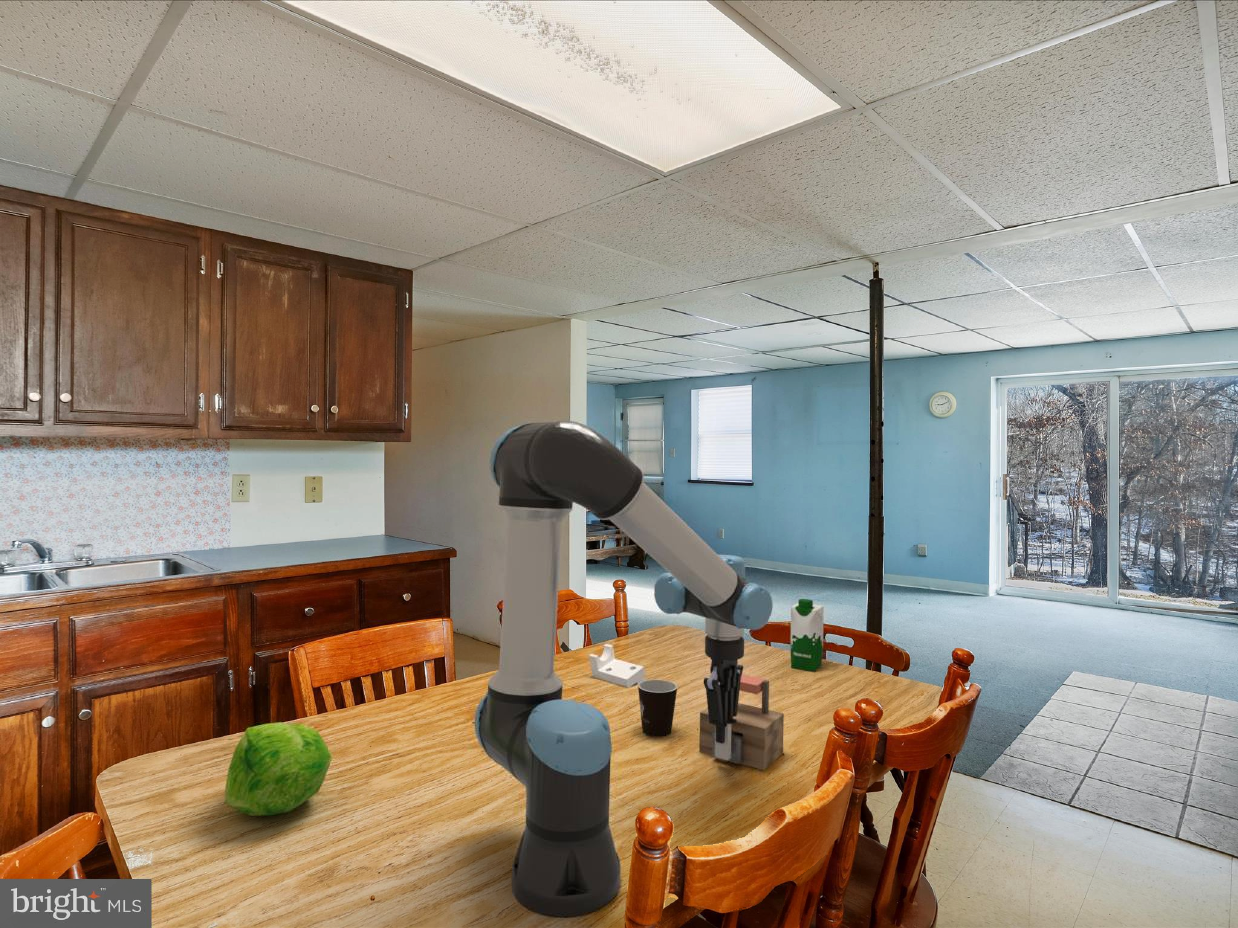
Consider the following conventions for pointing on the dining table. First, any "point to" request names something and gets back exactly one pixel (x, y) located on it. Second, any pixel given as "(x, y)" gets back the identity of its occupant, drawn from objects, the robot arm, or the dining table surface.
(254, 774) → the lettuce
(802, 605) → the milk carton
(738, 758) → the pin
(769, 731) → the block
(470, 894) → the dining table surface
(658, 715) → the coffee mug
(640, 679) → the bracket
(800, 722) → the dining table surface
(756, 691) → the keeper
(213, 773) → the dining table surface
